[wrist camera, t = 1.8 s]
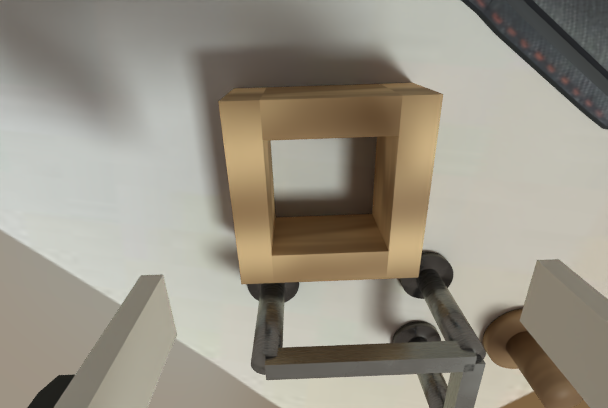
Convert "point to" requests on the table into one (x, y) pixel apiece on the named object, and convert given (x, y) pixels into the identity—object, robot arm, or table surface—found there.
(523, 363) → the peg stand
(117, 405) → the robot arm
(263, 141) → the wooden square frame
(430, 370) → the gray metal stand
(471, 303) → the table surface
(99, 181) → the table surface
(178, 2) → the table surface
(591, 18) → the dark grey book
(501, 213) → the table surface
